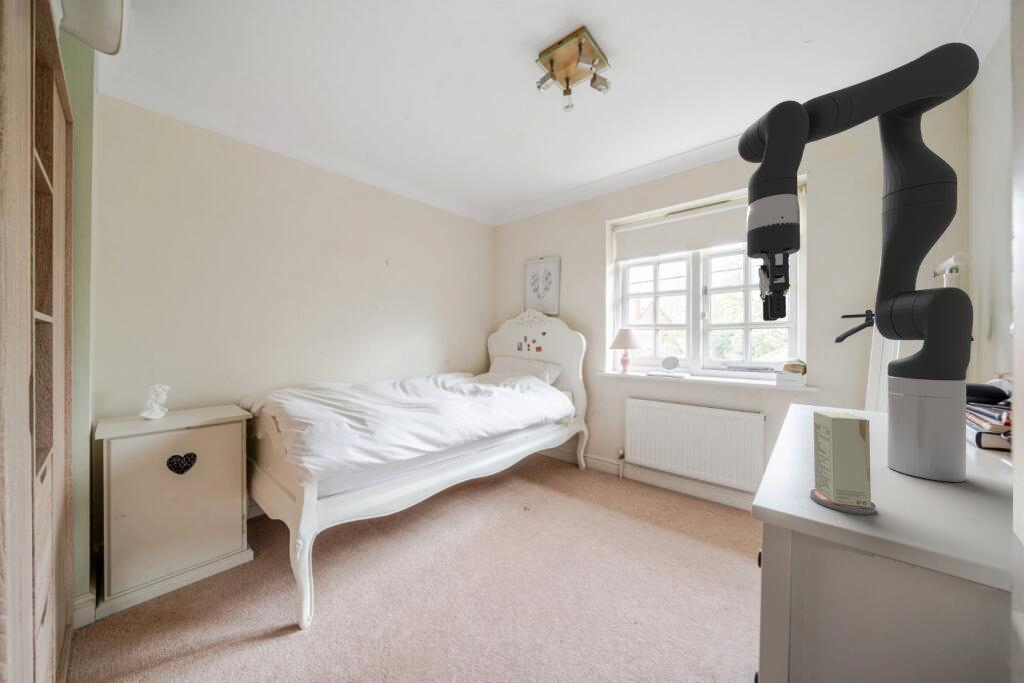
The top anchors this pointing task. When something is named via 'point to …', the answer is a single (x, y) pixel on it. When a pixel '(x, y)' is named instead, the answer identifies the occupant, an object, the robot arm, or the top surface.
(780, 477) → the top surface
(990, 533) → the top surface
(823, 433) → the skincare box
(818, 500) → the tile
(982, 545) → the top surface
